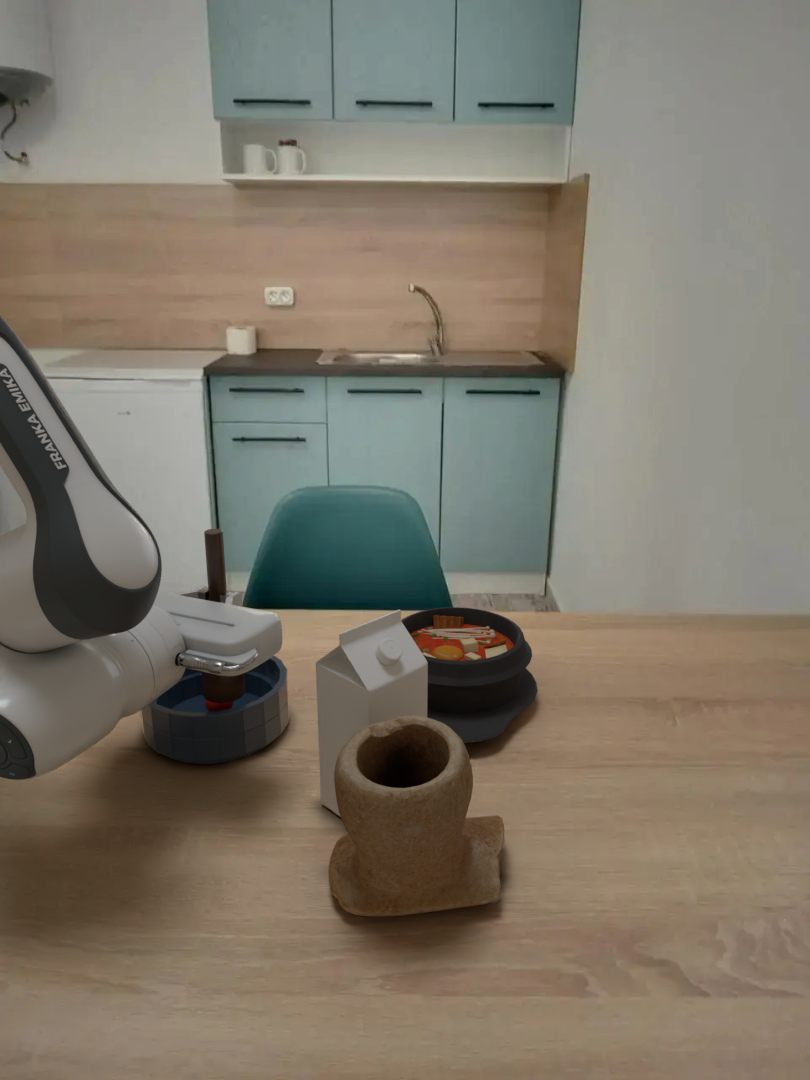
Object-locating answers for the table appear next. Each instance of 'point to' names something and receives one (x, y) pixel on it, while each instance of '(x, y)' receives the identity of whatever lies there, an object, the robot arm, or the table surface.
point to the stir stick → (212, 684)
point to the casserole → (473, 669)
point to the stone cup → (411, 823)
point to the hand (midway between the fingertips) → (222, 595)
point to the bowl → (218, 717)
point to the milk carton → (366, 688)
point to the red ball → (218, 706)
